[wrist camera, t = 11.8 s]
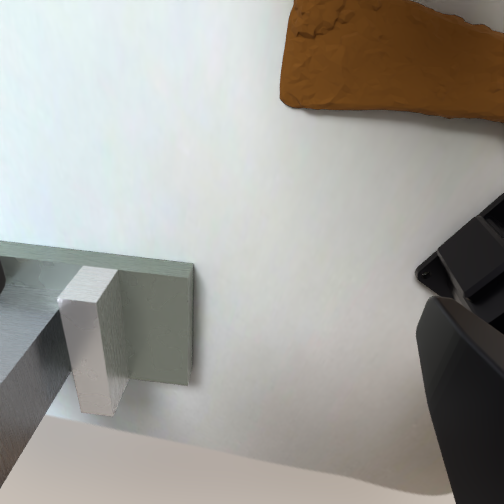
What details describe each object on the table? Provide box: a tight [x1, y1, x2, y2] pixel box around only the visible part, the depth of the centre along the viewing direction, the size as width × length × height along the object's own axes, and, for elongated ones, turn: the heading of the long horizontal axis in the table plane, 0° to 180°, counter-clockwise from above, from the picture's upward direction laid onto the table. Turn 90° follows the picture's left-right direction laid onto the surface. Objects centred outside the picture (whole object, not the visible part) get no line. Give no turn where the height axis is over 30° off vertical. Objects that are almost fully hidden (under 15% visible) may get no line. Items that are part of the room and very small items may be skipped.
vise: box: [0, 241, 193, 417], centre depth 24 cm, size 18×9×4 cm, turn 85°
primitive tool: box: [280, 0, 504, 123], centre depth 16 cm, size 19×6×4 cm, turn 83°
